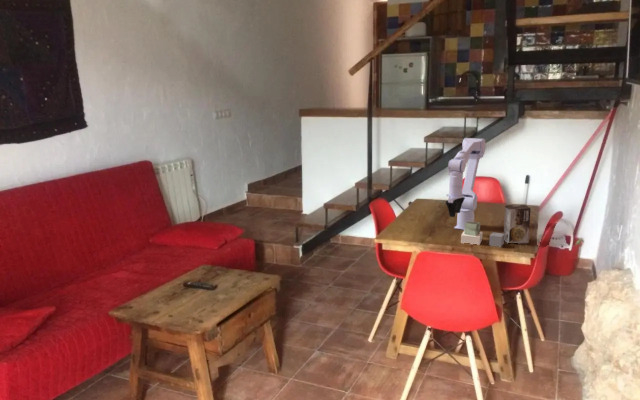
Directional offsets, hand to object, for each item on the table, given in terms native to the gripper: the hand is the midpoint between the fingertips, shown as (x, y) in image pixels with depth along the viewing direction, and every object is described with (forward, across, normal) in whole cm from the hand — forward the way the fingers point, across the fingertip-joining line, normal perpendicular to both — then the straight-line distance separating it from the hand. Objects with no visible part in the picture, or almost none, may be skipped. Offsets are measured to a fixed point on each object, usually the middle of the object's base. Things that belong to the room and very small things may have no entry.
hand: (454, 214), depth 232 cm
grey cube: (+10, +4, +20) cm, 23 cm away
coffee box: (+11, -5, +26) cm, 29 cm away
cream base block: (+11, +4, +9) cm, 15 cm away
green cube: (+7, +4, +9) cm, 12 cm away
